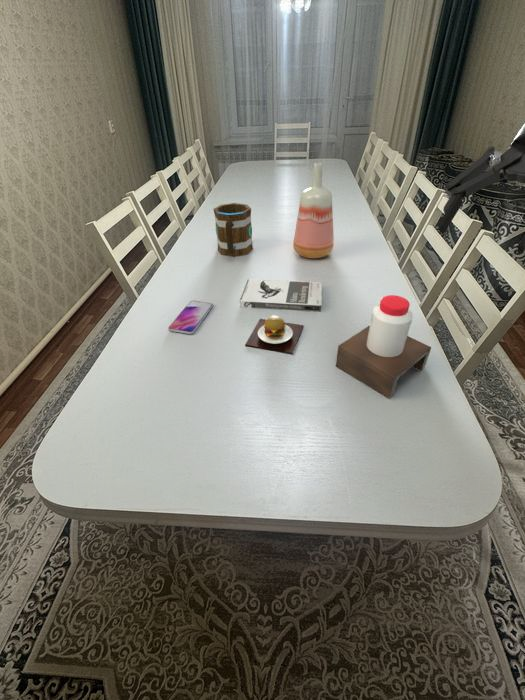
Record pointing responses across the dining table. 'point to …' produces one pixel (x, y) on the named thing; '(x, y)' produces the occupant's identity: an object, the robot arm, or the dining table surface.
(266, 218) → the dining table surface
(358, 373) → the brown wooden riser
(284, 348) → the hamburger
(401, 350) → the pill bottle
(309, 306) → the book
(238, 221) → the mug
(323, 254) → the vase
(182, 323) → the smartphone
